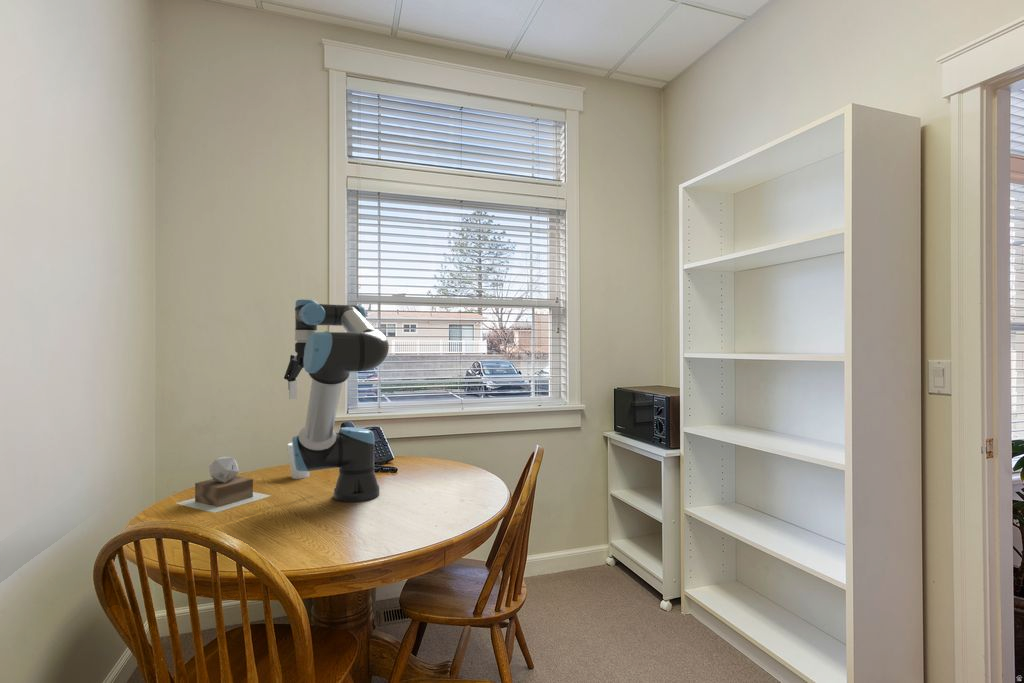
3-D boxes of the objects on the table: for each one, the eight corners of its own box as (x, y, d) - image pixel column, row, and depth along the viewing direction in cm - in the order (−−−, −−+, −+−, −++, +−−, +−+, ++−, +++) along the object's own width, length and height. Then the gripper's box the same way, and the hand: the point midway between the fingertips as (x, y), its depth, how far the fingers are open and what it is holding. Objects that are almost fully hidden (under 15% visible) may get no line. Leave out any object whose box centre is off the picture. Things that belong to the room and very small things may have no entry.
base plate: (271, 498, 176) (271, 495, 176) (214, 516, 158) (214, 512, 158) (233, 490, 185) (233, 487, 185) (175, 506, 167) (175, 503, 167)
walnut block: (252, 497, 174) (252, 479, 174) (218, 507, 164) (218, 488, 164) (229, 492, 180) (229, 474, 180) (195, 501, 169) (195, 483, 169)
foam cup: (296, 473, 210) (296, 440, 210) (317, 474, 209) (317, 441, 209) (282, 479, 201) (282, 445, 201) (304, 480, 200) (305, 446, 200)
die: (208, 487, 166) (227, 463, 166) (198, 470, 171) (217, 447, 171) (230, 491, 173) (248, 467, 173) (220, 474, 177) (238, 452, 178)
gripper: (338, 342, 189) (338, 400, 189) (290, 341, 200) (290, 397, 200) (322, 342, 182) (322, 402, 182) (274, 341, 194) (273, 399, 194)
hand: (305, 399), depth 191 cm, fingers open, 13 cm apart
